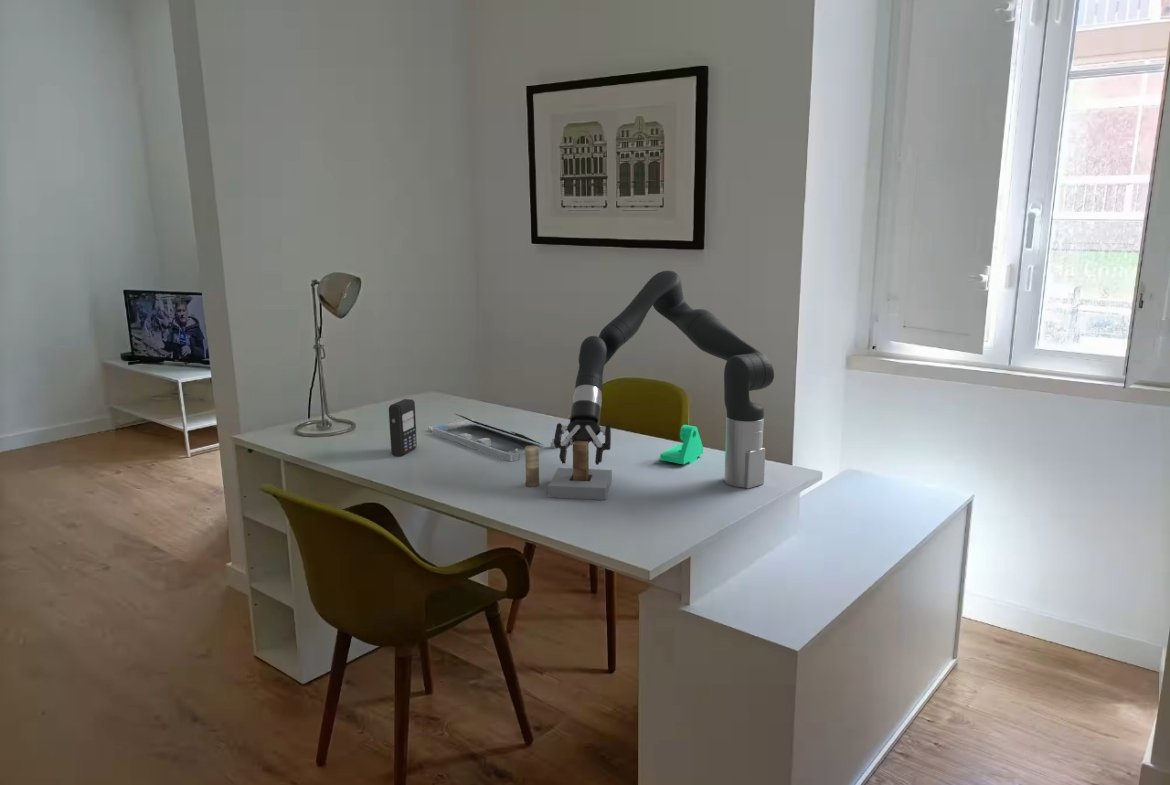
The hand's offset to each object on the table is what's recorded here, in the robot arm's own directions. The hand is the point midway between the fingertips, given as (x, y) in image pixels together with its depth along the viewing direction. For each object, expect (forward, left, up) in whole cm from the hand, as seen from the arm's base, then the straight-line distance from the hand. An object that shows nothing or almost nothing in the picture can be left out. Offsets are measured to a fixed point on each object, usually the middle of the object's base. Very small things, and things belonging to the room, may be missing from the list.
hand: (580, 462), depth 205 cm
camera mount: (+4, -38, -8) cm, 39 cm away
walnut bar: (+1, -1, -7) cm, 7 cm away
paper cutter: (+54, -5, -8) cm, 55 cm away
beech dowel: (+11, +7, -7) cm, 15 cm away
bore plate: (+1, -1, -7) cm, 7 cm away
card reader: (+57, +21, -8) cm, 61 cm away
